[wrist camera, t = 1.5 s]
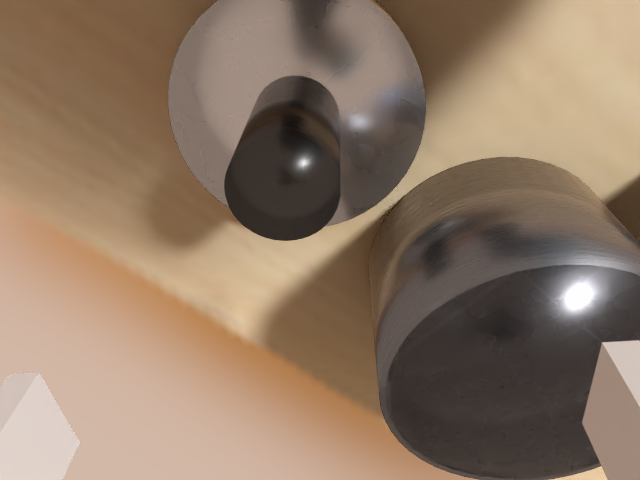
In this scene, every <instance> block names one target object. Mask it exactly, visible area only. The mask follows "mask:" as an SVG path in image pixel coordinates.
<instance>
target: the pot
mask: <svg viewBox="0 0 640 480" xmlns="http://www.w3.org/2000/svg"><path fill="white" fill-rule="evenodd" d="M368 272H369V284H370V295H371V307H372V318H373V330H374V341H375V353H376V364H377V376H378V387H379V397H380V406H381V410H382V413H383V416H384V419H385V421H386V423H387V425H388V427H389V428H390V430H391V432H392V433H393V434H394V436H395V437H396V438H397V439H398V441H399V442H400V443H401V444H402V445H404V447H405V448H407V449H408V450H409V451H410V452H411V453H413V454H414V455H416V456H417V457H418V458H420V459H421V460H423V461H425V462H427V463H429V464H431V465H433V466H434V467H437V468H440V469H442V470H445V471H447V472H450V473H454V474H457V475H460V476H464V477H469V478H474V479H479V480H548V479H555V478H560V477H565V476H570V475H574V474H577V473H581V472H585V471H588V470H592V469H594V468H597V467H600V466H601V464H600V461H599V459H598V457H597V455H596V453H595V450H594V448H593V446H592V444H591V442H590V439H589V437H588V435H587V433H586V431H585V428H584V426H583V424H582V421H583V417H584V413H585V409H586V405H587V401H588V397H589V393H590V389H591V385H592V381H593V377H594V373H595V369H596V365H597V361H598V357H599V353H600V349H601V345H602V342H618V341H636V340H639V341H640V243H639V242H638V241H637V240H636V238H635V237H634V236H633V235H632V234H631V233H630V232H629V231H628V230H627V229H626V227H625V226H624V225H623V224H622V223H621V222H620V221H619V220H618V219H617V218H616V216H615V215H614V214H613V213H612V212H611V211H610V210H609V209H608V208H607V207H606V205H605V204H604V203H603V202H602V201H601V200H600V199H599V198H598V197H597V196H596V195H595V193H594V192H593V191H592V190H591V189H590V188H589V187H588V186H587V185H586V184H585V183H583V182H582V181H581V180H580V179H579V178H577V177H576V176H574V175H572V174H571V173H569V172H568V171H566V170H564V169H562V168H559V167H557V166H555V165H552V164H549V163H546V162H542V161H538V160H534V159H526V158H519V157H497V158H489V159H481V160H477V161H472V162H468V163H464V164H461V165H458V166H455V167H452V168H450V169H447V170H445V171H443V172H441V173H439V174H437V175H435V176H433V177H431V178H429V179H428V180H426V181H424V182H423V183H421V184H420V185H418V186H417V187H415V188H414V189H413V190H412V191H410V192H409V193H408V194H407V195H405V196H404V197H403V198H402V199H401V200H400V201H399V202H398V203H397V204H396V205H395V207H394V208H393V209H392V210H391V211H390V213H389V214H388V215H387V217H386V218H385V219H384V221H383V223H382V224H381V226H380V228H379V230H378V232H377V234H376V236H375V239H374V242H373V244H372V248H371V252H370V257H369V270H368Z"/></svg>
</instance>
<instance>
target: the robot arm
mask: <svg viewBox="0 0 640 480" xmlns="http://www.w3.org/2000/svg"><path fill="white" fill-rule="evenodd" d="M582 424H583V426H584V428H585V431H586V433H587V435H588V437H589V439H590V442H591V444H592V446H593V448H594V450H595V453H596V455H597V457H598V459H599V461H600V464H601V466H602V468H603V470H604V472H605V475H606V477H607V479H608V480H640V341H639V340H636V341H618V342H602V345H601V349H600V353H599V357H598V361H597V365H596V369H595V373H594V377H593V381H592V385H591V389H590V393H589V397H588V401H587V405H586V409H585V413H584V417H583V421H582ZM79 444H80V441H79V440H78V438H77V437H76V435H75V433H74V431H73V430H72V428H71V426H70V425H69V423H68V421H67V419H66V418H65V416H64V414H63V413H62V411H61V409H60V408H59V406H58V404H57V403H56V401H55V399H54V397H53V396H52V394H51V392H50V391H49V389H48V387H47V386H46V384H45V382H44V381H43V379H42V377H41V376H40V374H39V373H21V374H9V375H8V377H7V378H6V380H5V381H4V382H3V384H2V385H1V387H0V480H62V479H63V477H64V475H65V473H66V471H67V469H68V467H69V465H70V462H71V461H72V459H73V457H74V455H75V452H76V450H77V448H78V446H79Z"/></svg>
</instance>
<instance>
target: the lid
mask: <svg viewBox="0 0 640 480" xmlns="http://www.w3.org/2000/svg"><path fill="white" fill-rule="evenodd" d="M168 110H169V117H170V123H171V128H172V131H173V134H174V138H175V141H176V144H177V146H178V148H179V150H180V153H181V155H182V157H183V159H184V160H185V162H186V164H187V165H188V167H189V169H190V170H191V172H192V173H193V174H194V176H195V177H196V178H197V179H198V181H199V182H200V183H201V184H202V185H203V186H204V187H205V188H206V189H207V190H208V191H209V192H210V193H211V194H212V195H213V196H214V197H215V198H217V199H218V200H219V201H220V202H222V203H223V204H224V205H226V206H228V207H229V208H230V209H231V211H232V213H233V214H234V216H235V217H236V218H237V219H238V220H239V221H240V222H241V224H243V225H244V226H245V227H246V228H248V229H249V230H251V231H252V232H254V233H256V234H258V235H260V236H263V237H266V238H269V239H274V240H283V241H289V240H297V239H302V238H305V237H308V236H310V235H312V234H314V233H316V232H318V231H319V230H321V229H322V228H323V227H325V226H330V225H334V224H338V223H341V222H344V221H347V220H349V219H352V218H354V217H356V216H358V215H360V214H362V213H364V212H366V211H367V210H369V209H370V208H372V207H373V206H375V205H376V204H378V203H379V202H380V201H381V200H382V199H384V198H385V197H386V196H387V195H388V194H389V193H390V192H391V191H392V190H393V189H394V188H395V187H396V186H397V185H398V184H399V182H400V181H401V179H402V178H403V177H404V175H405V174H406V173H407V171H408V169H409V167H410V166H411V164H412V162H413V160H414V158H415V156H416V153H417V151H418V148H419V145H420V142H421V138H422V134H423V130H424V123H425V114H426V103H425V90H424V84H423V78H422V75H421V72H420V69H419V65H418V62H417V60H416V58H415V55H414V53H413V51H412V49H411V47H410V45H409V43H408V41H407V39H406V37H405V36H404V34H403V33H402V31H401V30H400V28H399V27H398V25H397V24H396V22H395V21H394V20H393V19H392V18H391V16H390V15H389V14H388V13H387V12H386V11H385V9H383V8H382V7H381V6H380V5H379V4H378V3H377V2H375V1H374V0H218V1H216V2H215V3H214V4H213V5H211V6H210V7H209V8H208V9H207V10H206V11H205V12H204V13H203V14H202V15H201V16H200V17H199V18H198V19H197V21H196V22H195V23H194V24H193V26H192V27H191V28H190V29H189V31H188V33H187V34H186V36H185V38H184V39H183V41H182V43H181V45H180V47H179V49H178V52H177V54H176V57H175V59H174V62H173V66H172V70H171V74H170V79H169V89H168Z"/></svg>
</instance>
